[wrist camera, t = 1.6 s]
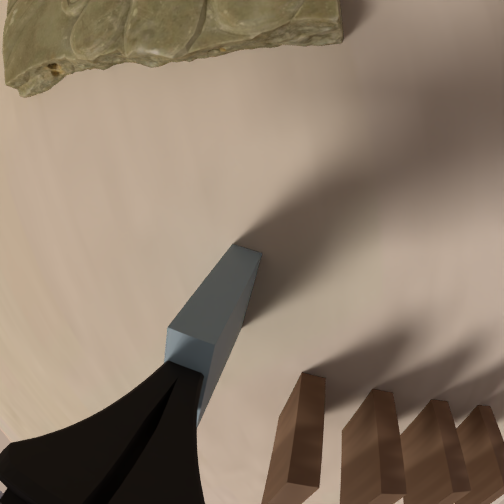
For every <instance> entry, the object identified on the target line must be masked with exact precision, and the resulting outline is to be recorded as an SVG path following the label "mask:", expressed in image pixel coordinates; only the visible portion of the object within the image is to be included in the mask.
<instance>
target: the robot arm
mask: <svg viewBox="0 0 504 504" xmlns="http://www.w3.org/2000/svg"><path fill="white" fill-rule="evenodd" d="M203 380H204V375H203V374H202V373H201V372H198V371H195V370H192V369H189V368H187V367H184V366H181V365H179V364H176V363H174V362H171V361H166V362H165V363H164V364H163V365H162V366H161V367H160V368H158V369H157V370H156V371H155V372H154V373H153V374H152V375H151V376H149V377H148V378H147V379H146V380H145V381H143V382H142V383H141V384H140V385H138V386H137V387H136V388H134V389H133V390H132V391H131V392H129V393H128V394H126V395H125V396H123V397H122V398H120V399H119V400H117V401H116V402H115V403H113V404H111V405H110V406H108V407H107V408H105V409H103V410H102V411H100V412H98V413H96V414H94V415H92V416H91V417H89V418H87V419H84V420H82V421H80V422H78V423H76V424H74V425H71V426H69V427H66V428H64V429H61V430H58V431H55V432H52V433H49V434H46V435H43V436H40V437H36V438H32V439H27V440H22V441H18V442H13V443H10V444H9V445H8V446H7V447H6V448H5V449H4V450H3V451H2V452H1V453H0V481H1V482H2V483H3V484H4V485H5V486H6V487H7V490H6V491H5V493H2V492H1V491H0V504H205V502H204V497H203V491H202V486H201V481H200V474H199V466H198V455H197V410H198V403H199V399H200V394H201V389H202V384H203Z"/></svg>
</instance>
